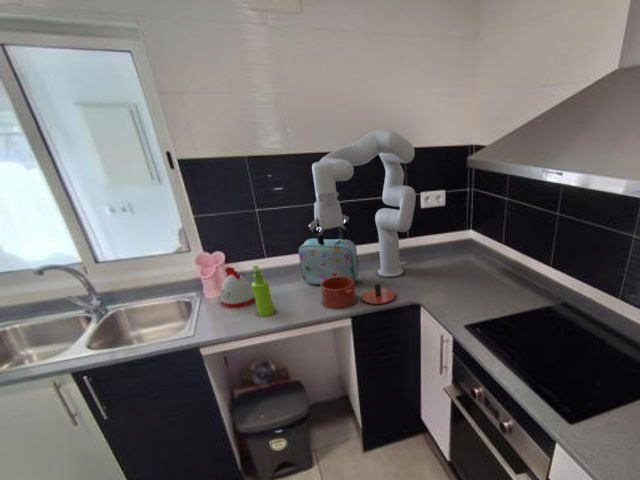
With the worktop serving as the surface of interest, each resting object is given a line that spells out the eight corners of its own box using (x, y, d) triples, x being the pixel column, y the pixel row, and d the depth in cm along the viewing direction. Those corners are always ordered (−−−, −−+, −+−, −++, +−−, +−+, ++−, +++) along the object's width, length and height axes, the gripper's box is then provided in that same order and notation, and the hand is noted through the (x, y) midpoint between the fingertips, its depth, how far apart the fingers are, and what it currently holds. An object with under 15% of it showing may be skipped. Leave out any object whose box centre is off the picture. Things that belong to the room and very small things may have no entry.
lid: (381, 287, 174) (380, 274, 171) (402, 297, 165) (401, 283, 162) (354, 297, 165) (353, 283, 162) (375, 308, 156) (374, 294, 153)
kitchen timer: (243, 290, 173) (234, 259, 166) (263, 297, 167) (256, 265, 160) (215, 302, 162) (205, 270, 155) (236, 310, 156) (227, 276, 149)
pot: (340, 289, 173) (338, 272, 169) (365, 303, 161) (364, 284, 156) (314, 299, 164) (311, 281, 160) (338, 314, 152) (336, 295, 148)
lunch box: (363, 279, 183) (359, 235, 173) (358, 287, 174) (353, 242, 164) (309, 277, 186) (302, 234, 175) (302, 286, 177) (294, 241, 166)
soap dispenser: (260, 318, 150) (248, 271, 140) (258, 311, 155) (246, 265, 146) (275, 315, 152) (265, 268, 143) (272, 308, 158) (262, 262, 148)
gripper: (340, 192, 149) (345, 235, 157) (300, 199, 139) (307, 244, 147) (351, 195, 144) (355, 239, 153) (311, 202, 134) (317, 249, 142)
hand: (332, 241), depth 150 cm, fingers open, 9 cm apart
